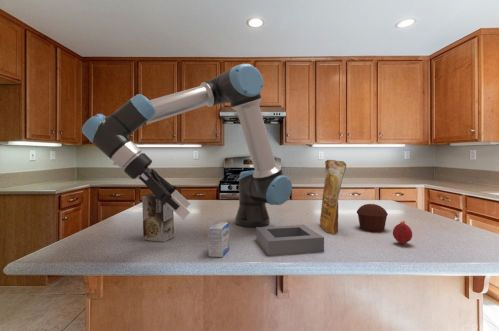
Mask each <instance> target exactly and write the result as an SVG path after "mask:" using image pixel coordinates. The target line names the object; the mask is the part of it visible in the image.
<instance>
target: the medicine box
mask: <svg viewBox="0 0 499 331" xmlns="http://www.w3.org/2000/svg"><path fill="white" fill-rule="evenodd" d="M207 242H208V243H207V244H208V257H209V258H210V257H212V258H223V257H224V256H225V255H226V253H227V252H228V251H229V250H230V223H229V222H226V221H225V222H223V221H219V222H215V223H214V224H212V225H211V226H210V227H208V229H207Z"/></svg>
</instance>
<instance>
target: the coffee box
mask: <svg viewBox="0 0 499 331" xmlns="http://www.w3.org/2000/svg"><path fill="white" fill-rule="evenodd" d="M141 200H142V201H141V202H142V203H141V204H142V227H143V228H142V231H143V233H142V235H143V240H144V241H152V242H153V241H154V242H162V243H165V242H167V241H169V240H171V239H174V238H175V230H174V229H175V227H174V226H175V225H174V218H175V217H174V214H175V213H174V211H173V210H172V209H171V208H170V207H169V206H167V205H166V203H167V202H166V203H165V204H164V205H162V204H161V202H160V200H159V199H158V198H157V197H156V196H155V195H154V193H153V192H152V193H148V194H144V195H142V196H141Z"/></svg>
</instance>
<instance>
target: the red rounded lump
mask: <svg viewBox="0 0 499 331" xmlns="http://www.w3.org/2000/svg"><path fill="white" fill-rule="evenodd" d="M392 236H393V238H394V239H395V241H396V242H398V243H399V244H400V245H405V244H407V243H408V242H410V241H411V240H412V238H413V231H412V228H411V227H410V226H409V225H407V224H406V222H405V220H401V221H400V222H399V223H398V224H396V225H395V226H394V227H393V229H392Z"/></svg>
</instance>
